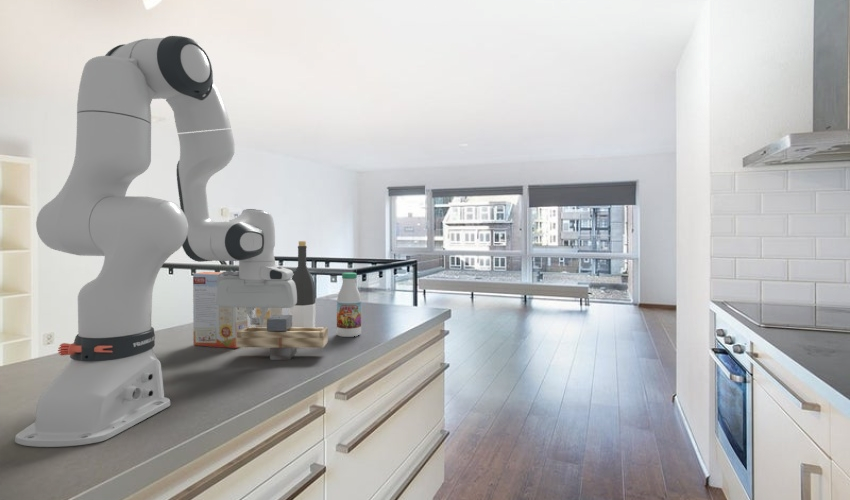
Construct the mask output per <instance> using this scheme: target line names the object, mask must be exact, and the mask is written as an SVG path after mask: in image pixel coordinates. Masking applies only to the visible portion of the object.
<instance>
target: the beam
mask: <svg viewBox="0 0 850 500" xmlns="http://www.w3.org/2000/svg"><path fill="white" fill-rule="evenodd" d="M328 329H329V328H328V327H327V326H324V327H316V326H315V327H291V328H289V331H267V327H255V326H248V327H245V328H243V329H241V330H240V331H238V332H237V348H268V349H269V360H272V361H273V360H275V361H277V360H281V361H282V360H284V361H285V360H291V359H292V358H293V357H294V355H296V353H297V352H298V351H297V349H298V348H299V349H300V348H302V349H303V348H304V349H305V348H306V349H307V348H309V349H312V348H314V349H315V348H321V349H324V347H325V346H326V345H327V343H328V341H329V338H328V334H329V330H328Z"/></svg>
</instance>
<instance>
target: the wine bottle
mask: <svg viewBox="0 0 850 500" xmlns="http://www.w3.org/2000/svg"><path fill="white" fill-rule="evenodd" d="M306 243H307V242H306V240H298V246H297V267H296V268H295V270H294V272H293V277H292V278H291V279H292V280H293V281H294V282H295V285H296V291H297V303H296V305H295V306H294V307H292V308H287V309H288V311H287V312H288V314H287V315H292V327H316V286H315V280H314V277H313V276H312V273H311V272H310V270H309V268H308V266H307V248H308V247H307V244H306Z"/></svg>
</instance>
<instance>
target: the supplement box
mask: <svg viewBox="0 0 850 500" xmlns="http://www.w3.org/2000/svg"><path fill="white" fill-rule="evenodd" d="M254 310H255V311H254V312H255V313H254V315H255V317H260V315H261V314H262V312H260V308H254ZM273 315H283V308H268V312H267V313H266V315H265V316H264V323H263V324H262V325H254V327H267V319H268V318H270V317H271V316H273Z"/></svg>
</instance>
